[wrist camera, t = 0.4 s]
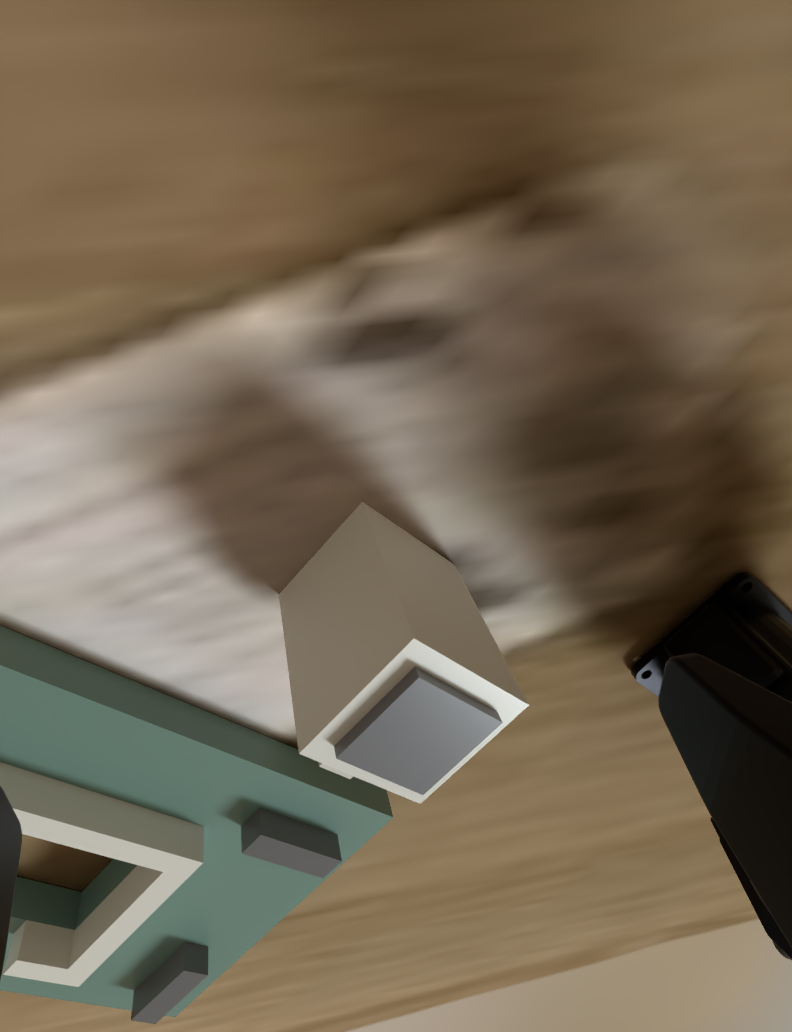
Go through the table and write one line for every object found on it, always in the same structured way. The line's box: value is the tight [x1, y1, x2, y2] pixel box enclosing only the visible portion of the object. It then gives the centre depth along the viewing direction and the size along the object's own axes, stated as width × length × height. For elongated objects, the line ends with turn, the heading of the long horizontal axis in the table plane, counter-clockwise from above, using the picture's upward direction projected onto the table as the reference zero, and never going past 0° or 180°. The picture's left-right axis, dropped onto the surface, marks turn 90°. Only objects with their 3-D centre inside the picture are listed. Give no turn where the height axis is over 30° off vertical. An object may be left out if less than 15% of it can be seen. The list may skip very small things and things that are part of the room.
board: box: [0, 626, 393, 1024], centre depth 25 cm, size 22×16×3 cm
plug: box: [279, 502, 529, 804], centre depth 21 cm, size 4×6×7 cm
